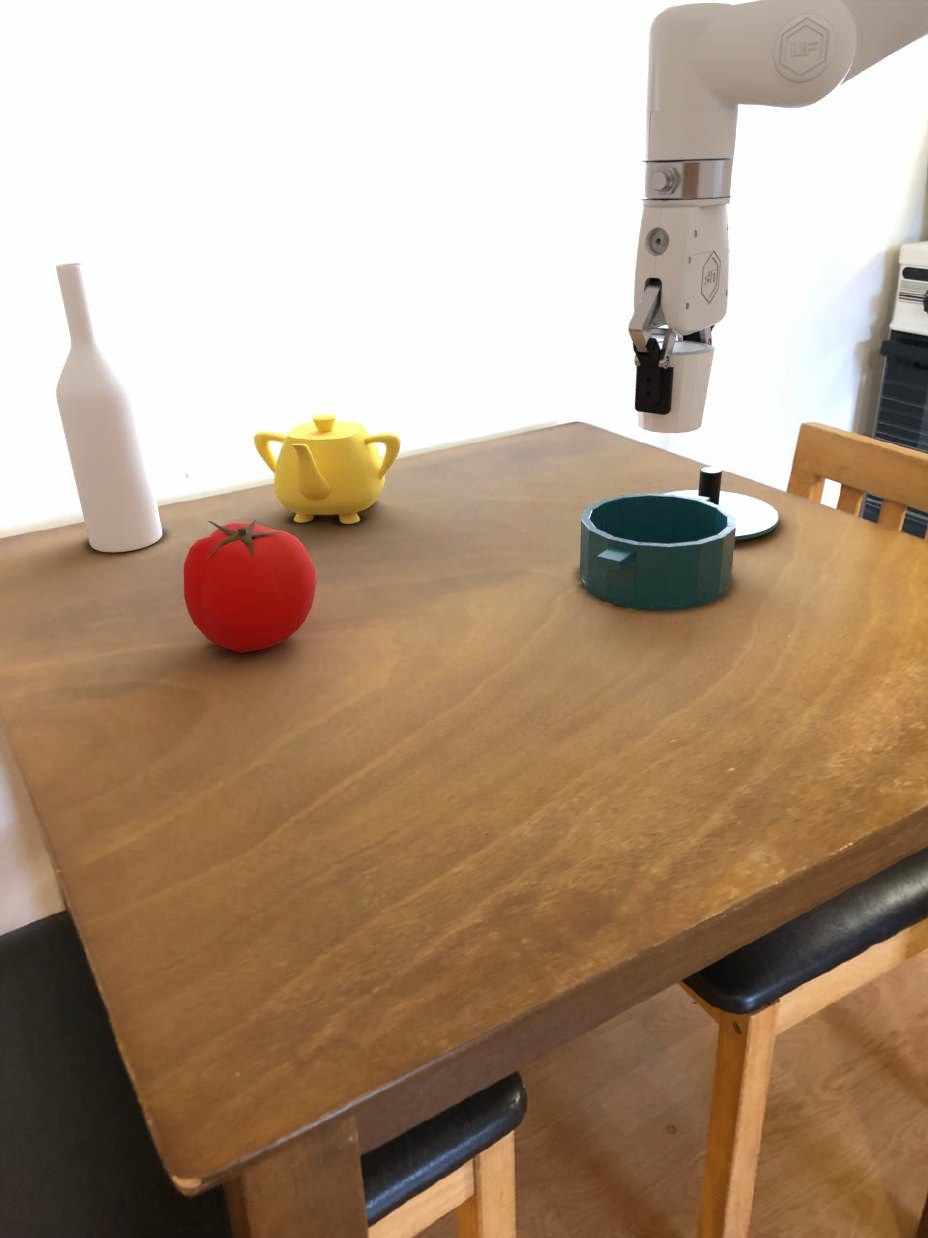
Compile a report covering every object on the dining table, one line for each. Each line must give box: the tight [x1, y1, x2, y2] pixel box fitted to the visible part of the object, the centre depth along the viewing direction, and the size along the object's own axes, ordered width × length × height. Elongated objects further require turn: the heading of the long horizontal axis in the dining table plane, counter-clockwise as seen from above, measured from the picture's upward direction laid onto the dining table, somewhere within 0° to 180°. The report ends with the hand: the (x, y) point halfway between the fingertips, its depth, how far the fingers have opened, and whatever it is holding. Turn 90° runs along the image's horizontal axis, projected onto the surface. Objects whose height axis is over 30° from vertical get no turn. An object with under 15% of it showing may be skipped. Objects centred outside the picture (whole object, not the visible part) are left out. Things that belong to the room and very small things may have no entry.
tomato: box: [183, 519, 317, 654], centre depth 82 cm, size 12×12×11 cm
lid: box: [664, 466, 780, 541], centre depth 106 cm, size 16×16×6 cm
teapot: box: [253, 413, 401, 525], centre depth 112 cm, size 14×14×12 cm
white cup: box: [635, 340, 715, 434], centre depth 83 cm, size 7×7×7 cm
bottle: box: [55, 262, 163, 553], centre depth 101 cm, size 8×8×30 cm
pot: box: [579, 492, 736, 612], centre depth 92 cm, size 15×20×6 cm
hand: (671, 401), depth 84 cm, fingers closed on white cup, 6 cm apart
